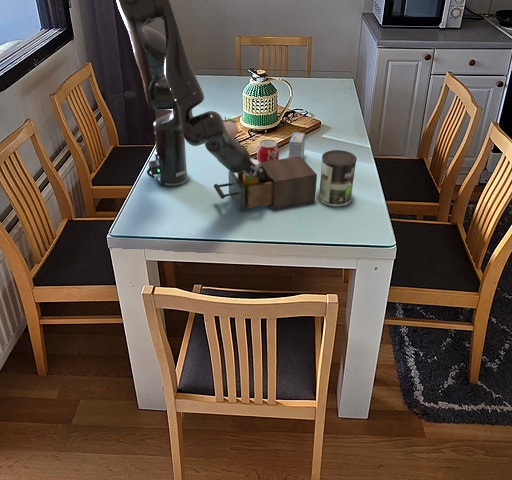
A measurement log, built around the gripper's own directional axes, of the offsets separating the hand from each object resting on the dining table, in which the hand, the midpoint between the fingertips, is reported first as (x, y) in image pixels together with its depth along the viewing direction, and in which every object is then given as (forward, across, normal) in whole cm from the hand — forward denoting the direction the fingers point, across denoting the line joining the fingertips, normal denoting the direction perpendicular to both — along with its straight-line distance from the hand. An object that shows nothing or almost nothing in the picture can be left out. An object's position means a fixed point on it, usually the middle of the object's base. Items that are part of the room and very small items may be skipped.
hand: (255, 176), depth 173 cm
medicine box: (+28, -4, +16) cm, 32 cm away
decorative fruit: (+25, -32, +13) cm, 43 cm away
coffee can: (+17, +20, +5) cm, 27 cm away
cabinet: (+11, +7, 0) cm, 13 cm away
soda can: (+16, -5, +5) cm, 18 cm away
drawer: (+3, -1, -8) cm, 8 cm away
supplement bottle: (+2, 0, -4) cm, 5 cm away
